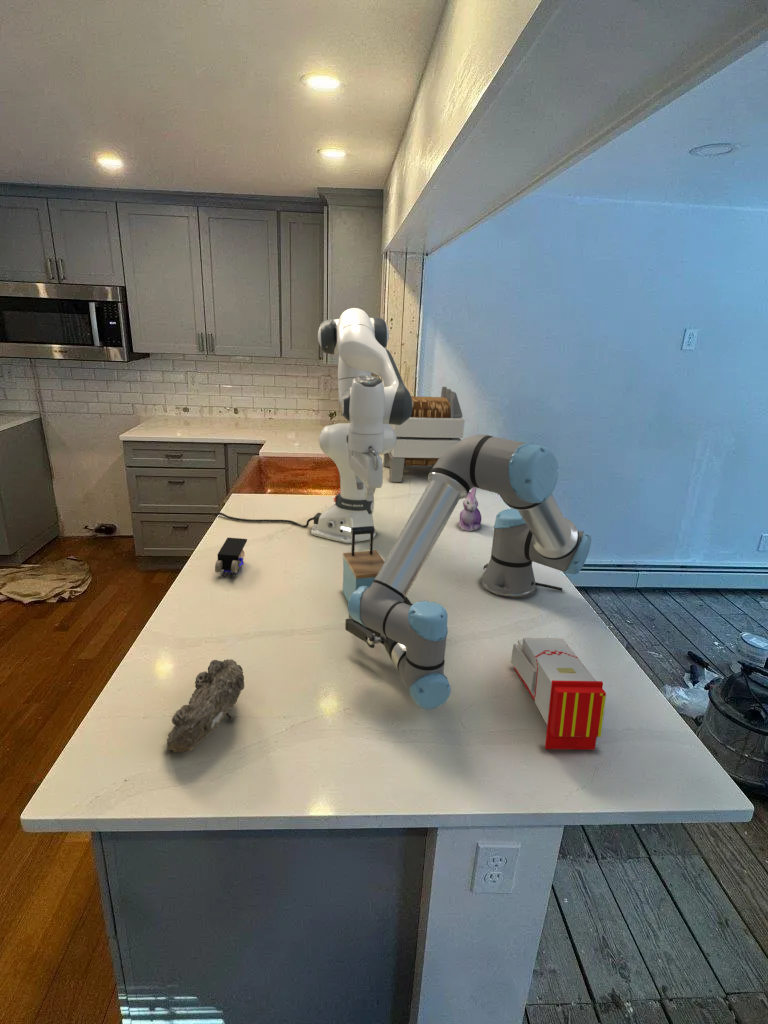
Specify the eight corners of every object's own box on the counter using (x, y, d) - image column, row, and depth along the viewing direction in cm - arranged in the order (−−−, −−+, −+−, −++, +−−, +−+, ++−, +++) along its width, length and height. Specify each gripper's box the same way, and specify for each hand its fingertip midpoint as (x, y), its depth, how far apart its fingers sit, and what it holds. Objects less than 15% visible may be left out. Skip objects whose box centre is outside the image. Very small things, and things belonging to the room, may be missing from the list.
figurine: (467, 533, 203) (471, 493, 198) (451, 523, 211) (454, 485, 206) (488, 529, 207) (492, 490, 202) (471, 520, 215) (475, 482, 210)
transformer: (382, 463, 289) (386, 382, 275) (445, 464, 293) (451, 384, 279) (390, 482, 257) (394, 392, 243) (460, 483, 261) (468, 394, 247)
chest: (342, 591, 158) (343, 556, 154) (375, 588, 160) (376, 554, 157) (354, 616, 145) (355, 579, 142) (390, 612, 148) (391, 575, 144)
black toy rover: (238, 584, 162) (249, 557, 175) (236, 562, 158) (247, 536, 172) (215, 584, 161) (227, 556, 175) (212, 561, 158) (225, 535, 171)
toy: (559, 621, 128) (615, 689, 99) (553, 675, 131) (607, 757, 102) (506, 620, 128) (547, 687, 99) (501, 674, 131) (540, 756, 101)
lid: (342, 555, 154) (343, 525, 151) (376, 553, 157) (377, 522, 154) (355, 578, 142) (356, 545, 139) (391, 575, 144) (393, 542, 141)
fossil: (192, 660, 117) (244, 628, 112) (224, 691, 120) (276, 661, 115) (142, 746, 98) (202, 712, 93) (182, 779, 101) (242, 748, 96)
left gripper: (390, 452, 135) (387, 507, 139) (367, 433, 153) (365, 482, 158) (364, 452, 133) (362, 508, 137) (344, 434, 151) (343, 483, 156)
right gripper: (349, 675, 118) (327, 623, 137) (459, 658, 125) (424, 610, 144) (350, 644, 115) (328, 595, 134) (462, 628, 123) (426, 584, 142)
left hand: (364, 494), depth 148 cm, fingers open, 8 cm apart
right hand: (377, 603), depth 139 cm, fingers open, 13 cm apart
